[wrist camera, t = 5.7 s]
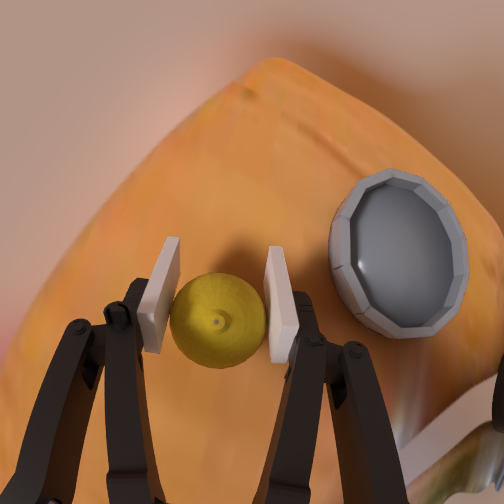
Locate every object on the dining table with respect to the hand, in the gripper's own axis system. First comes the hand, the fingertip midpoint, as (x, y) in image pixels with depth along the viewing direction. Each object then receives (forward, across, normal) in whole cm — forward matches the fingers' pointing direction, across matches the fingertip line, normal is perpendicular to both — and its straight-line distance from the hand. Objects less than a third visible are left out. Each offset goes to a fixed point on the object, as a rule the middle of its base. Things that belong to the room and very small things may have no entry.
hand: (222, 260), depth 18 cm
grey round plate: (+4, +15, -1) cm, 16 cm away
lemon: (0, 0, -5) cm, 5 cm away
